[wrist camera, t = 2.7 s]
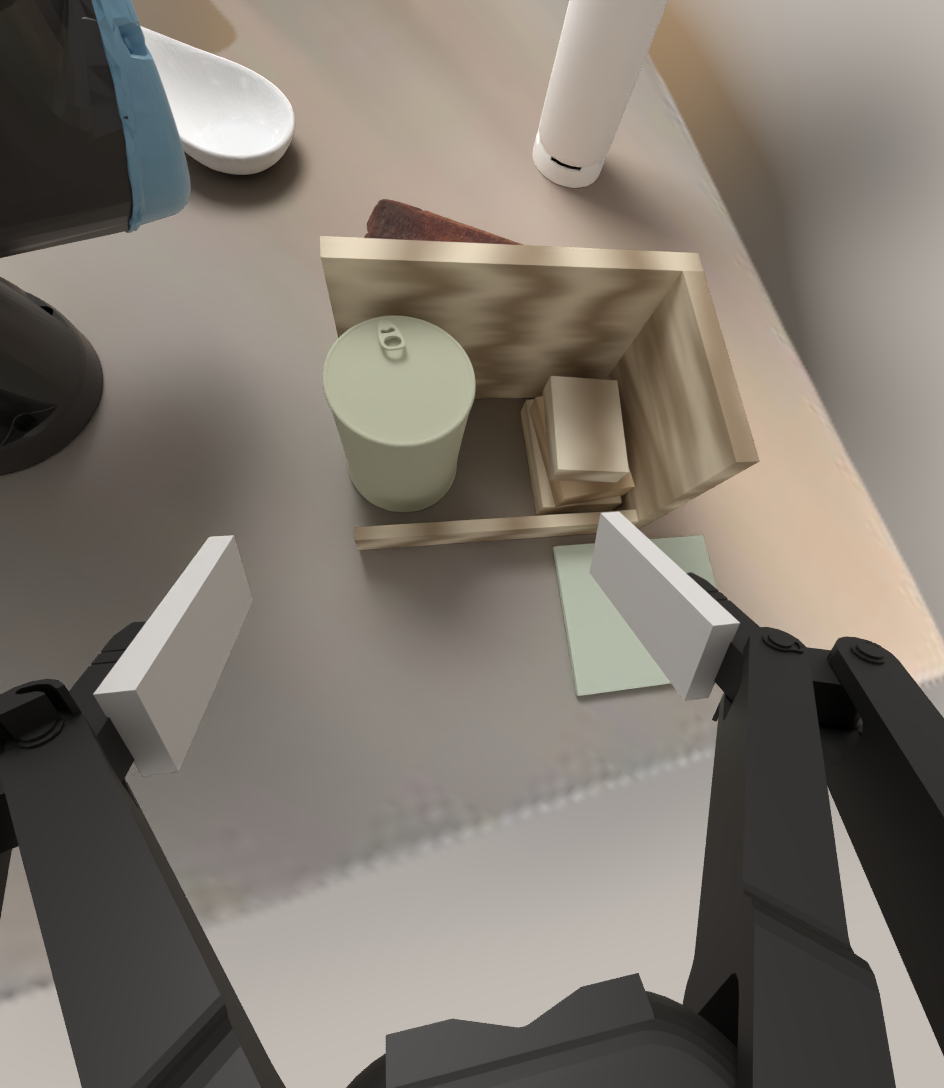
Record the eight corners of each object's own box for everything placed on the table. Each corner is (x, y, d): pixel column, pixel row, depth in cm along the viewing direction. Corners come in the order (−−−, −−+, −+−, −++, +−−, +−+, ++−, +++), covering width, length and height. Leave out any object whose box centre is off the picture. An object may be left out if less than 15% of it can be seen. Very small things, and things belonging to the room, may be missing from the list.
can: (439, 405, 39) (452, 297, 27) (470, 498, 37) (498, 425, 25) (336, 425, 37) (303, 319, 25) (363, 525, 35) (340, 459, 23)
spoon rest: (316, 131, 45) (299, 37, 38) (282, 213, 42) (257, 125, 35) (79, 61, 43) (17, -52, 36) (24, 141, 40) (-56, 34, 33)
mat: (576, 695, 34) (578, 695, 33) (552, 547, 37) (554, 546, 36) (733, 674, 36) (737, 674, 36) (699, 536, 39) (703, 535, 38)
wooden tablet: (343, 249, 40) (384, 167, 42) (347, 267, 43) (386, 189, 44) (601, 356, 42) (630, 273, 43) (592, 369, 44) (620, 289, 46)
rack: (359, 550, 34) (327, 480, 21) (351, 385, 38) (320, 236, 24) (636, 530, 38) (759, 461, 25) (605, 383, 42) (698, 253, 28)
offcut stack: (536, 515, 37) (559, 488, 31) (520, 412, 40) (539, 370, 34) (613, 510, 38) (650, 484, 33) (594, 410, 41) (624, 370, 35)
